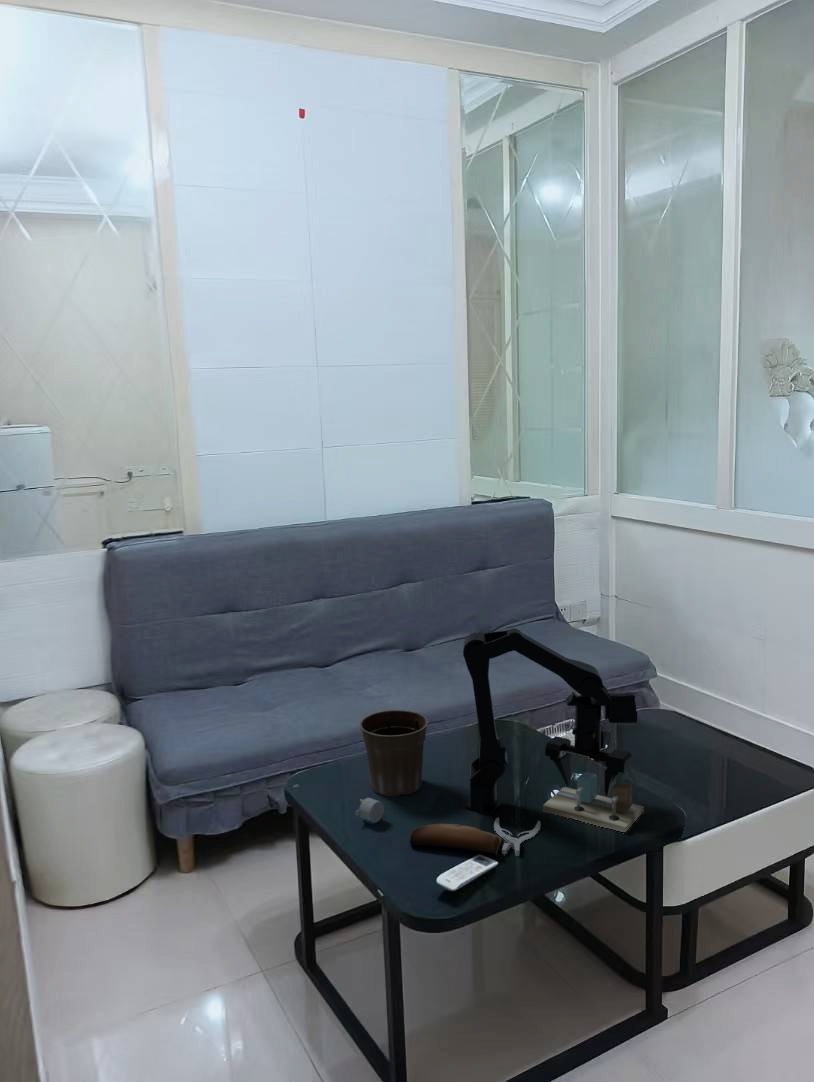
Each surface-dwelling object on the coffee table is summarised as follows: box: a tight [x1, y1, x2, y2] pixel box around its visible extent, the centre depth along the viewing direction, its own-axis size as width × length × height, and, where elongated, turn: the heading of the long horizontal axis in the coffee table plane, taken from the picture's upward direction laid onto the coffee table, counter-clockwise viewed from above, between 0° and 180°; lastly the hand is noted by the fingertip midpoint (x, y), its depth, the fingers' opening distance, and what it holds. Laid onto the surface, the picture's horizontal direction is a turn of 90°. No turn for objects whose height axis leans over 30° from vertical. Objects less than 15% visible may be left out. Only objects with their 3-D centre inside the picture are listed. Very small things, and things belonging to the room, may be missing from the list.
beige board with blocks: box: [542, 780, 645, 833], centre depth 189 cm, size 11×19×7 cm, turn 55°
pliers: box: [493, 817, 542, 857], centre depth 180 cm, size 10×2×15 cm
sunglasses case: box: [409, 823, 503, 856], centre depth 177 cm, size 18×7×7 cm, turn 74°
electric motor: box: [355, 797, 385, 826], centre depth 189 cm, size 7×5×5 cm
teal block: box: [575, 771, 598, 806], centre depth 190 cm, size 7×3×5 cm, turn 145°
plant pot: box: [359, 709, 429, 798], centre depth 204 cm, size 16×16×16 cm
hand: (587, 790), depth 191 cm, fingers open, 9 cm apart
